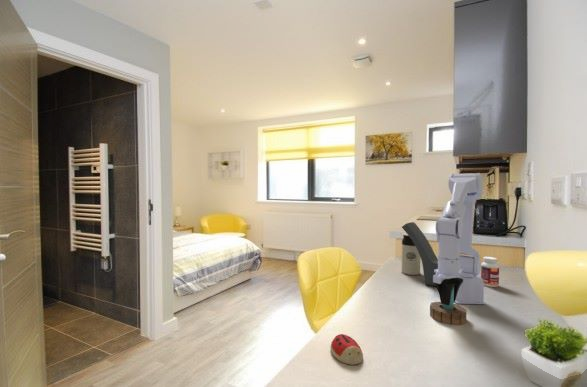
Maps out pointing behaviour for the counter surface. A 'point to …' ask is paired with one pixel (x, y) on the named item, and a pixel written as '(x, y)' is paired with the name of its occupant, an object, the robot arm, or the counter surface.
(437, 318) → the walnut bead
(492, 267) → the pill bottle
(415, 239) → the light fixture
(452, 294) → the capsule peg
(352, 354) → the ladybug figurine
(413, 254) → the travel mug
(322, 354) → the counter surface
